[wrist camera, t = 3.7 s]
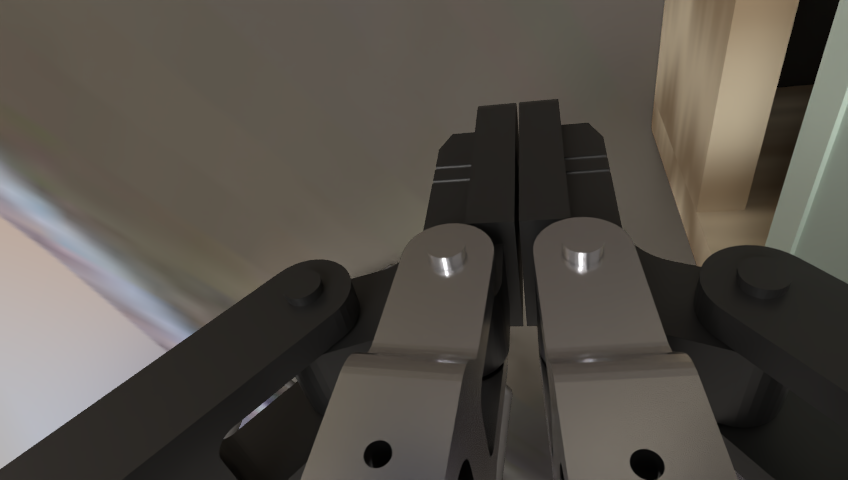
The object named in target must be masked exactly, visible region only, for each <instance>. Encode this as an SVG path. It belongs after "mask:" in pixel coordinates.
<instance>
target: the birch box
mask: <svg viewBox="0 0 848 480" xmlns="http://www.w3.org/2000/svg"><path fill="white" fill-rule="evenodd" d="M798 4H799V0H665V4H664V13H663V23H662V32H661V41H660V51H659V60H658V69H657V79H656V88H655V97H654V107H653V116H652V125H651V129H652V132H653V135H654V138H655V141H656V144H657V147H658V150H659V153H660V156H661V159H662V162H663V165H664V168H665V171H666V174H667V177H668V180H669V183H670V186H671V189H672V192H673V196H674V199H675V202H676V205H677V208H678V211H679V214H680V217H681V220H682V223H683V226H684V229H685V232H686V235H687V238H688V241H689V244H690V247H691V250H692V253H693V256H694V259H695V262H696V265H697V266H699V267H702V264H703V263H704V262H705V260H706V259H707V258H708V257H709V256H711V255H712V254H713V253H715V252H717V251H719V250H722V249H725V248H728V247H733V246H740V245H758V246H765V243H766V240H767V237H768V234H769V230H770V227H771V224H772V221H773V217H774V214H775V211H776V207H777V204H778V201H779V198H780V194H781V191H782V188H783V184H784V181H785V178H786V175H787V171H788V168H789V165H790V162H791V158H792V155H793V152H794V148H795V145H796V142H797V139H798V135H799V132H800V129H801V125H802V122H803V119H804V116H805V112H806V109H807V106H808V103H809V99H810V96H811V93H812V89H813V86H814V85H803V86H792V87H781V88H777V85H778V81H779V77H780V73H781V69H782V65H783V62H784V58H785V54H786V50H787V46H788V42H789V38H790V35H791V31H792V27H793V23H794V19H795V15H796V11H797V8H798Z"/></svg>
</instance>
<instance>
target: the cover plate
mask: <svg viewBox="0 0 848 480" xmlns="http://www.w3.org/2000/svg"><path fill="white" fill-rule="evenodd" d="M765 247H770V248H775V249H779V250H782V251H784V252H787V253H790V254H792V255H794V256H796V257H798V258H800V259H802V260H804V261H806V262H808V263H810V264H812V265H813V266H815V267H817V268H819V269H821V270H823V271H825V272H827V273H828V274H830V275H832V276H834V277H836V278H838V279H840V280H842V281H844V282H845V283H847V284H848V0H840V1H839V4H838V8H837V11H836V14H835V17H834V21H833V24H832V27H831V30H830V34H829V37H828V40H827V44H826V47H825V50H824V53H823V57H822V60H821V63H820V67H819V70H818V73H817V76H816V80H815V83H814V86H813V89H812V93H811V96H810V99H809V103H808V106H807V109H806V112H805V116H804V119H803V122H802V125H801V129H800V132H799V135H798V139H797V142H796V145H795V148H794V152H793V155H792V158H791V162H790V165H789V168H788V171H787V175H786V178H785V181H784V184H783V188H782V191H781V194H780V198H779V201H778V204H777V207H776V211H775V214H774V217H773V221H772V224H771V227H770V230H769V234H768V237H767V240H766V243H765Z"/></svg>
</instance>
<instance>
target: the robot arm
mask: <svg viewBox="0 0 848 480" xmlns="http://www.w3.org/2000/svg"><path fill="white" fill-rule="evenodd" d="M433 182H434V184H432V189H431V194H430V200H429V205H428V210H427V215H426V220H425V225H424V230H423V232H421V233H419V234H418V235H416V236H415V237H414V238H413V239H412V240H411V241H410V242H409V243H408V244H407V245H406V247H405V249H404V251H403V253H402V256H401V259H400V262H399V263H398V264H396V265H394V266H392V267H390V268H387V269H384V270H381V271H378V272H375V273H371V274H368V275H364V276H360V277H357V278H353V279H351V278H350V275H349V273H348V272H347V270H346V269H345V268H344V267H343V266H342V265H340V264H338V263H336V262H333V261H329V260H309V261H305V262H301V263H298V264H295V265H293V266H291V267H289V268H287V269H285V270H283V271H282V272H280V273H279V274H277V275H276V276H274V277H273V278H272V279H270V280H269V281H267V282H266V283H265V284H263V285H262V286H260V287H259V288H257V289H256V290H255V291H253V292H252V293H250V294H249V295H247V296H246V297H245V298H243V299H242V300H240V301H239V302H237V303H236V304H235V305H233V306H232V307H230V308H229V309H228V310H226V311H225V312H223V313H222V314H220V315H219V316H218V317H216V318H215V319H213V320H212V321H210V322H209V323H208V324H206V325H205V326H203V327H202V328H201V329H199V330H198V331H196V332H195V333H193V334H192V335H191V336H189V337H188V338H186V339H185V340H183V341H182V342H181V343H179V344H178V345H176V346H175V347H174V348H172V349H171V350H169V351H168V352H166V353H165V354H164V355H162V356H161V357H159V358H158V359H157V360H155V361H154V362H152V363H151V364H149V365H148V366H146V367H145V368H144V369H142V370H141V371H139V372H138V373H137V374H135V375H134V376H132V377H131V378H129V379H128V380H127V381H125V382H124V383H122V384H121V385H120V386H118V387H117V388H115V389H114V390H112V391H111V392H110V393H108V394H107V395H105V396H104V397H102V398H101V399H100V400H98V401H97V402H96V403H94V404H92V405H91V406H90V407H88V408H87V409H85V410H84V411H83V412H81V413H80V414H78V415H77V416H75V417H74V418H73V419H71V420H70V421H69V422H67V423H65V424H64V425H63V426H61V427H60V428H58V429H57V430H56V431H54V432H53V433H51V434H50V435H49V436H47V437H46V438H44V439H43V440H41V441H40V442H38V443H37V444H36V445H34V446H33V447H31V448H30V449H28V450H27V451H26V452H24V453H23V454H21V455H20V456H19V457H17V458H16V459H14V460H13V461H11V462H10V463H9V464H7V465H6V466H4V467H3V468H1V469H0V480H496V472H497V459H498V450H499V441H500V432H501V423H502V414H503V405H504V396H505V387H506V378H507V369H508V361H507V355H508V352H509V341H510V326H523V280H524V293H525V306H526V319H527V326H537V327H538V344H539V360H540V372H541V380H542V389H543V397H544V405H545V413H546V421H547V429H548V437H549V446H550V454H551V462H552V470H553V480H738V478H737V476H736V473H735V471H737V472H738V473H739V474H740V475H741V476H742V477H743V478H745V479H746V480H848V284H847V283H845V282H844V281H842V280H840V279H838V278H836V277H834V276H832V275H830V274H828V273H827V272H825V271H823V270H821V269H819V268H817V267H815V266H813V265H812V264H810V263H808V262H806V261H804V260H802V259H800V258H798V257H796V256H794V255H792V254H790V253H787V252H784V251H782V250H779V249H775V248H770V247H765V246H758V245H740V246H733V247H728V248H725V249H722V250H719V251H717V252H715V253H713V254H712V255H711V256H709V257H708V258H707V259H706V260H705V262H704V263H703V264H702V267H699V266H694V265H689V264H683V263H678V262H673V261H669V260H665V259H661V258H658V257H655V256H653V255H651V254H649V253H646V252H644V251H643V250H641V249H640V248H638V247H637V246H636V245H634V243H633V241H632V238H631V237H630V236H629V235H628V233H627V232H626V231H624V230H623V229H622V226H621V221H620V216H619V211H618V206H617V202H616V197H615V192H614V187H613V182H612V177H611V173H610V168H609V163H608V158H607V153H606V148H605V144H604V139H603V136H602V135H601V134H600V133H598V132H597V131H596V130H595V129H594V128H593V127H592V126H591V125H590V124H589V123H580V124H568V125H561V121H560V111H559V102H558V99H552V100H541V101H530V102H520V103H519V132H518V117H517V106H516V103H510V104H499V105H489V106H479V107H478V111H477V119H476V128H475V132H474V133H462V134H453V135H452V136H451V137H450V138H449V139H448V140H447V141H446V143H445V144H444V145H443V146H442V147H441V148H440V149H439V154H438V159H437V164H436V170H435V174H434V179H433ZM294 377H296V379H297V382H296V383H295V384H294V385H292V386H291V387H290V388H289V389H287V390H286V391H285V392H284V393H283V394H281V395H280V396H279V397H278V398H277V399H275V400H274V401H273V402H272V403H270V404H269V405H268V406H267V407H266V408H264V409H263V410H262V411H261V412H260V413H258V414H257V415H256V416H255V417H254V418H252V419H251V420H250V421H249V422H248V423H246V424H245V425H244V426H243V427H242V428H240V429H239V430H238V431H237V432H235V433H234V434H233V435H231V436H230V437H228V438H226V439H224V437H225V436H226V434H227V433H228V432H229V431H230V430H231V429H232V428H233V427H234V426H235V425H237V424H238V423H239V422H240V421H241V420H243V419H244V418H245V417H246V416H248V415H249V414H250V413H251V412H252V411H254V410H255V409H256V408H257V407H259V406H260V405H261V404H262V403H263V402H265V401H266V400H267V399H268V398H270V397H271V396H272V395H273V394H274V393H276V392H277V391H278V390H279V389H281V388H282V387H283V386H284V385H285V384H287V383H288V382H289V381H290V380H292V379H293V378H294Z"/></svg>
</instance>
